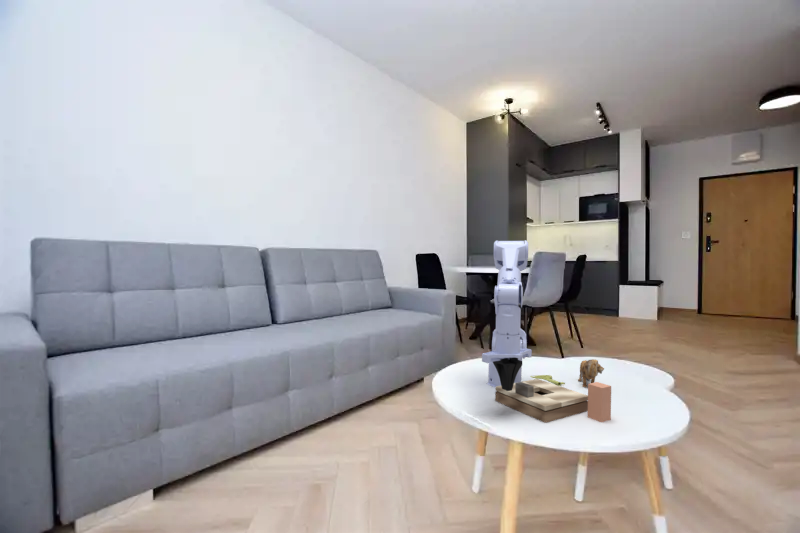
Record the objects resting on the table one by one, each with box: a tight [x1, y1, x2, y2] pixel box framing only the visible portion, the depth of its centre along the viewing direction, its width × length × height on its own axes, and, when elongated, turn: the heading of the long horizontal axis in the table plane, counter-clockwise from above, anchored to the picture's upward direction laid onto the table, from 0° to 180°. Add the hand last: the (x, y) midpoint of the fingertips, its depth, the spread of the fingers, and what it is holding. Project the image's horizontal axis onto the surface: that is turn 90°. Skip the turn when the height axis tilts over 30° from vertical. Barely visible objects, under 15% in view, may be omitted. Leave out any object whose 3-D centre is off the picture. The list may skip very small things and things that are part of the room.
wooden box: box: [494, 390, 588, 424], centre depth 96 cm, size 16×16×3 cm
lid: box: [494, 378, 588, 411], centre depth 96 cm, size 16×16×4 cm
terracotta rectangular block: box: [587, 381, 612, 423], centre depth 89 cm, size 4×4×8 cm
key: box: [530, 374, 566, 386], centre depth 120 cm, size 7×12×2 cm, turn 30°
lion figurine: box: [577, 359, 605, 388], centre depth 118 cm, size 15×5×9 cm, turn 172°
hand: (506, 389), depth 90 cm, fingers closed
